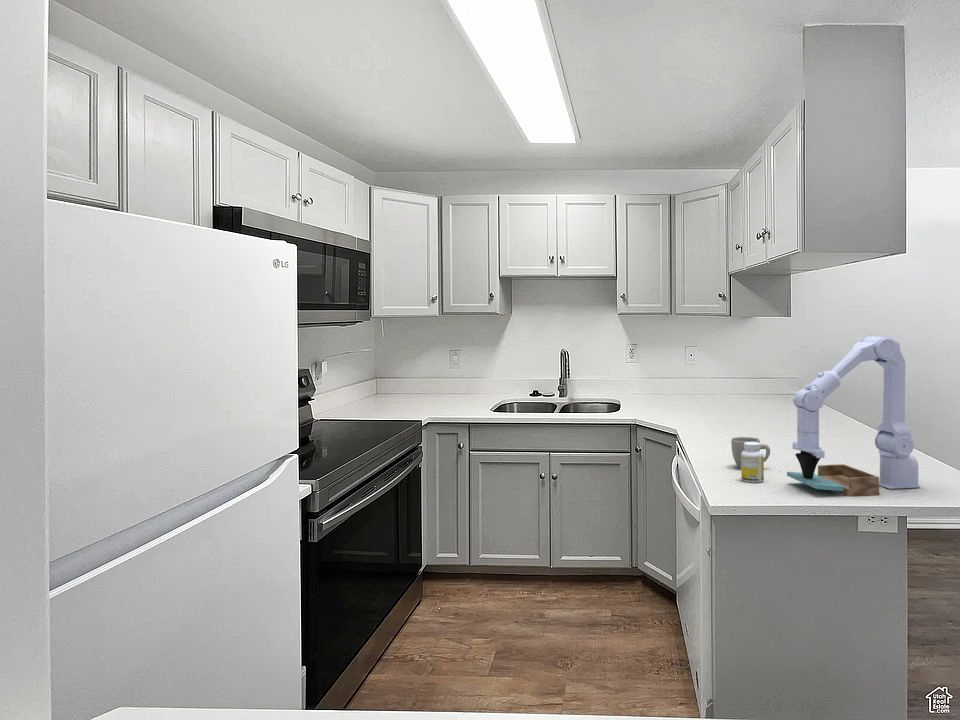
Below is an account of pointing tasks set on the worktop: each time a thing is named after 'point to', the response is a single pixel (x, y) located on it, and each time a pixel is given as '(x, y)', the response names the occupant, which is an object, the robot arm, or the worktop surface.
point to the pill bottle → (752, 463)
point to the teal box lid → (816, 482)
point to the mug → (739, 448)
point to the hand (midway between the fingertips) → (808, 478)
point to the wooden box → (850, 479)
